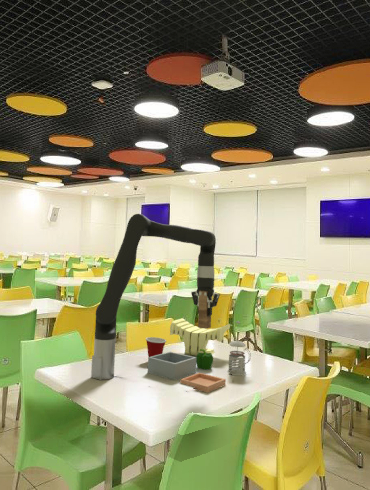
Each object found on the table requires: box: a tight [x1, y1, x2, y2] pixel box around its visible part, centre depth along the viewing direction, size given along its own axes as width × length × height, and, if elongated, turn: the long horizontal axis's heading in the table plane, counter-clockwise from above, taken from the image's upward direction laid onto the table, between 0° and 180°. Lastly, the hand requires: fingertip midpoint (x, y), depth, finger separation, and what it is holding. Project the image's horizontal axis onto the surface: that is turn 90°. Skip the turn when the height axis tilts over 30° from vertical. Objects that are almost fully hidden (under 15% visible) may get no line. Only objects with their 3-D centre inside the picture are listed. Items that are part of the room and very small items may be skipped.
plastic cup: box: [145, 336, 167, 357], centre depth 211 cm, size 11×11×12 cm
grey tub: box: [147, 351, 197, 381], centre depth 190 cm, size 16×16×8 cm
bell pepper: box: [195, 349, 214, 371], centre depth 200 cm, size 8×8×10 cm
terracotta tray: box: [180, 372, 227, 393], centre depth 176 cm, size 14×14×2 cm
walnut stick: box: [197, 291, 212, 329], centre depth 178 cm, size 4×4×16 cm
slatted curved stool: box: [169, 317, 231, 357], centre depth 232 cm, size 30×16×18 cm, turn 65°
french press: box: [226, 320, 252, 376], centre depth 197 cm, size 10×12×25 cm
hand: (204, 315), depth 178 cm, fingers closed on walnut stick, 4 cm apart
